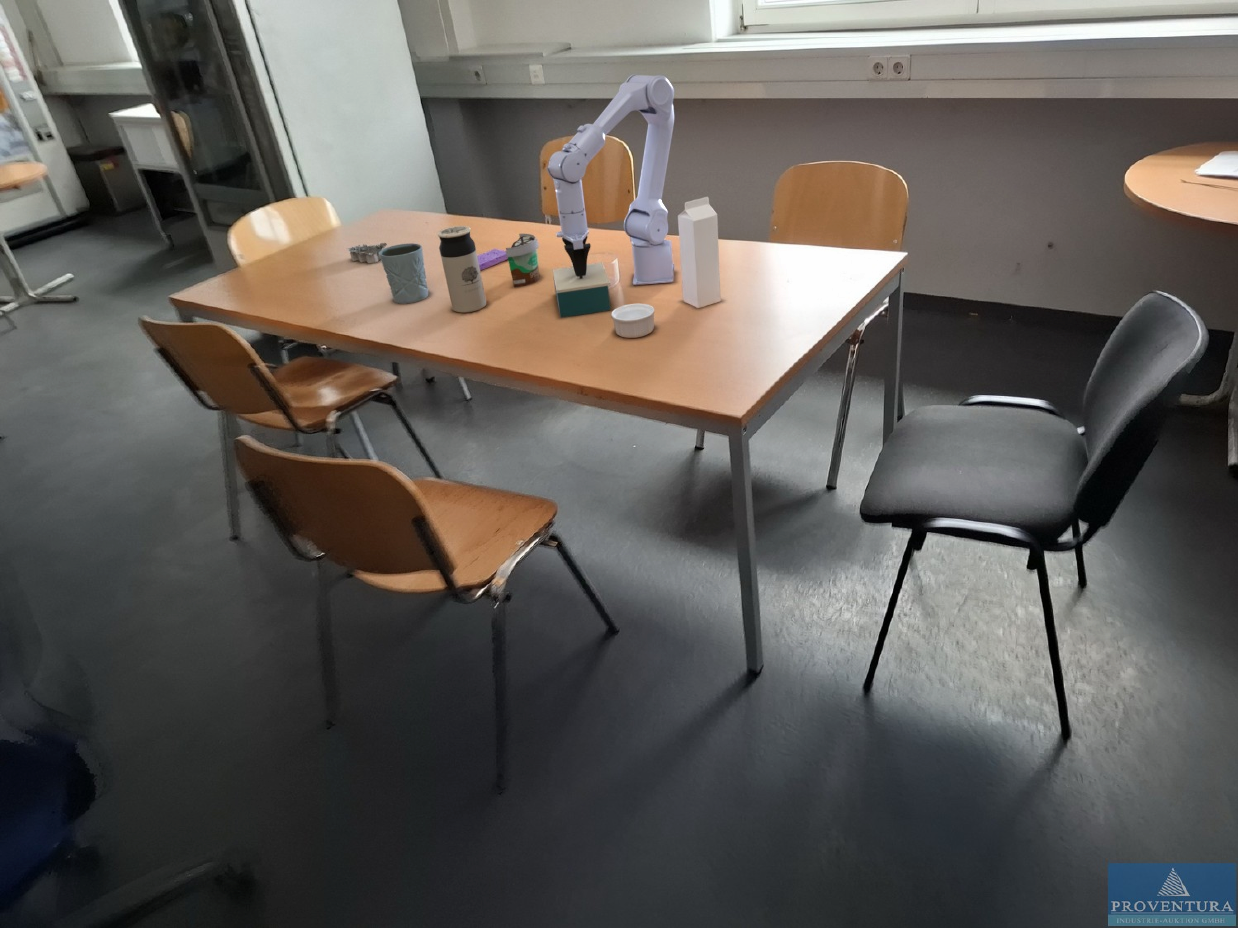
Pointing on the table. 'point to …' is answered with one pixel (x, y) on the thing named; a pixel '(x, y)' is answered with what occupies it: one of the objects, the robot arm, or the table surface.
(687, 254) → the milk
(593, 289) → the cool box
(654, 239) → the robot arm
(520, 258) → the food container
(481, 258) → the sponge
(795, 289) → the table surface
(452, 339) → the table surface
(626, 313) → the ramekin
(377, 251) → the egg carton
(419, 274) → the blue embossed cup
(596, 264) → the lid
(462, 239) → the travel mug
